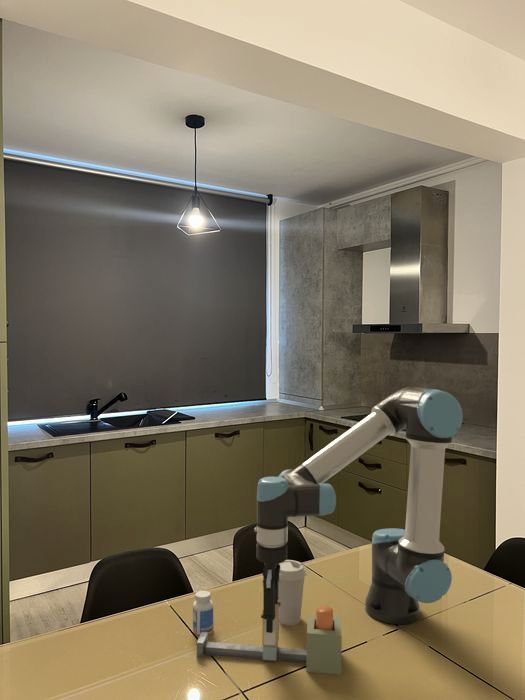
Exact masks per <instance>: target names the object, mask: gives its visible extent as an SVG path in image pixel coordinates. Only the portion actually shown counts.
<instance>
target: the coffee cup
mask: <svg viewBox="0 0 525 700" xmlns="http://www.w3.org/2000/svg"><path fill="white" fill-rule="evenodd" d="M279 565H280V573H279V584H278V597H279V599H278V602H280V603H281V605H280V607H279V625H280V624H281V625H282V626H288V627H289V626H291V627H292V626H296V625H298V624H300V622H301V618H302V608H303V597H304V596H303V595H304V587H305V586H304V585H305V577H306V576H307V570H306V568H305V567H304V564H303V563H302V562H300V561H297V560H294V559H293V560H292V559H286V560H285V561H284V562H282V563H279Z"/></svg>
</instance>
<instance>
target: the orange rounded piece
mask: <svg viewBox="0 0 525 700" xmlns="http://www.w3.org/2000/svg"><path fill="white" fill-rule="evenodd" d="M315 615H316V629H320V630H333V616H334V610H333V608H332V607H330V606H327V605H321V606H317V607H316V609H315Z"/></svg>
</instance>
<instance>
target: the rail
mask: <svg viewBox="0 0 525 700" xmlns="http://www.w3.org/2000/svg"><path fill="white" fill-rule="evenodd" d="M205 656H210V657H213V656H214V657H224V658H234V659H235V658H236V659H245V660H246V659H247V660H260V661H264V660H263V646H262V645H253V644H252V645H251V644H240V643H239V644H237V643H230V642H229V643H227V642H216V641H209V634H208V632H201V634H200V635H199V636H198V639H197V642H196V658H198V659H204V657H205ZM306 658H307V649H303V648H291V647H279V646H278V647H277V656H276V661H274V660H268V661H272V662H282V663H283V662H284V663H293V664H294V663H295V664H306Z"/></svg>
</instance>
